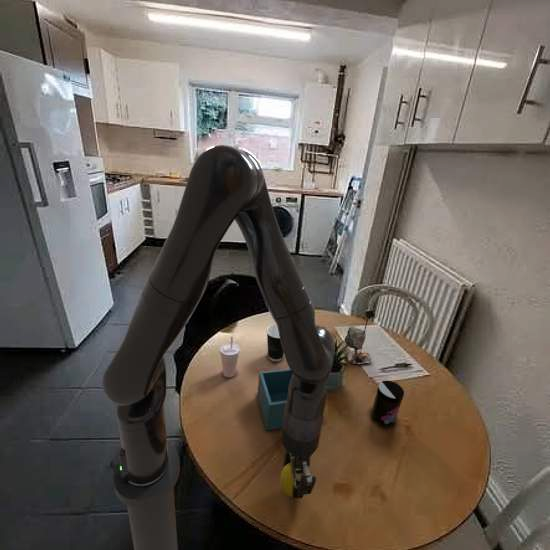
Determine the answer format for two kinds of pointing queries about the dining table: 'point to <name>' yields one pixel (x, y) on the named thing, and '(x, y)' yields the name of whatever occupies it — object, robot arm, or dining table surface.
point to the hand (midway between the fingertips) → (293, 480)
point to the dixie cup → (274, 343)
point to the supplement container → (387, 402)
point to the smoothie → (229, 358)
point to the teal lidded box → (274, 396)
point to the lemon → (287, 480)
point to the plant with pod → (358, 342)
